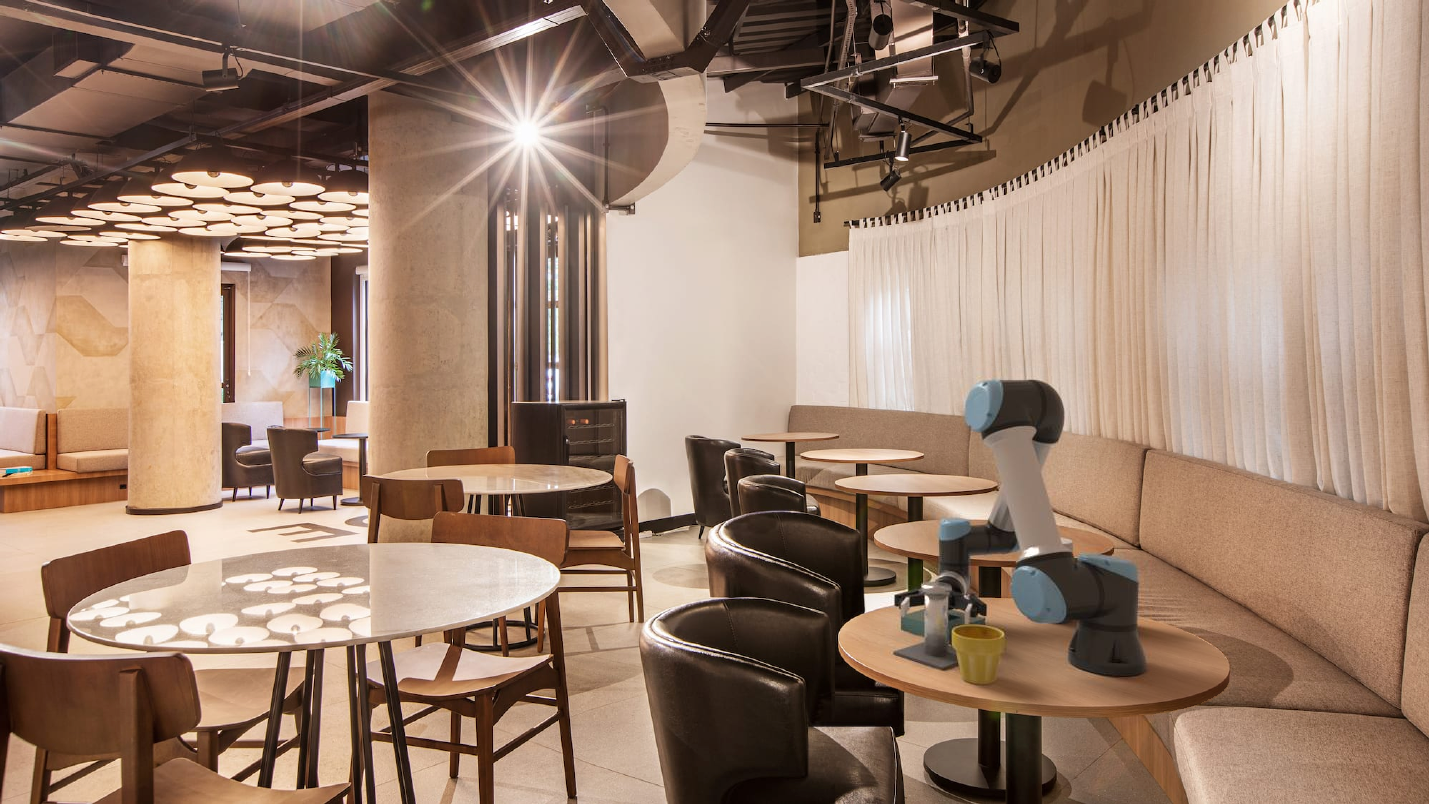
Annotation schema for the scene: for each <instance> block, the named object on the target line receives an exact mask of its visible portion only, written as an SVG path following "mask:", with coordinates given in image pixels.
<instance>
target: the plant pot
mask: <svg viewBox="0 0 1429 804" xmlns="http://www.w3.org/2000/svg"><path fill="white" fill-rule="evenodd" d="M951 646H952V647H953V648H954V649H955V650H956V654H957V659H958V663H959V665H958V668H959V671H960V672H959V674H960V677H961V679H962V680H963V681H964V682H966V681H967V683H969V684H973V685H991V684H993V683H994V682H995V681H996V680H997V675H998V670H999V665H1000V660H1001V655H1002V654H1003V653H1004V652H1005V649H1006V634H1005V632H1004V631H1003V630H1001V629H999V628H997V627H993V626H989V625H985V626H984V625H961V626H957V627H955V628H953V629H952V644H951Z"/></svg>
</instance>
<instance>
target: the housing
mask: <svg viewBox="0 0 1429 804" xmlns="http://www.w3.org/2000/svg"><path fill="white" fill-rule="evenodd" d="M961 625H984V626H986V617H984V616H979V615H978V616H976V617H975V618H973V617H971V620H970V622H969V624H965V612H964V611H960V610H957V609H953V610H948V645H952V629H953V628H955V627H957V626H961ZM900 630H901V631H904V632H907V633H910V634H914V635H916V636H921V637H924V633H925V608H923V609H920V610H914V611H912V612H909V613H908V612H907V614H906V615H905V616H904V617H901V616H900Z"/></svg>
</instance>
